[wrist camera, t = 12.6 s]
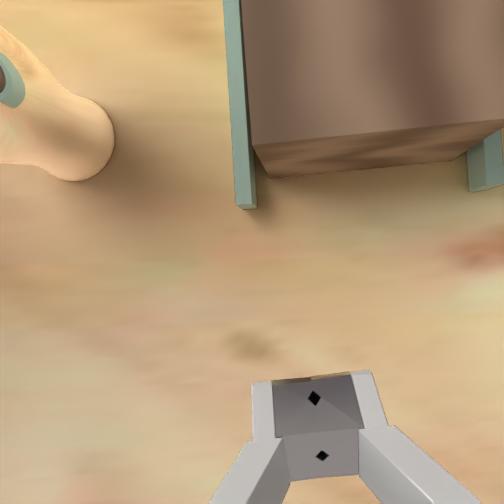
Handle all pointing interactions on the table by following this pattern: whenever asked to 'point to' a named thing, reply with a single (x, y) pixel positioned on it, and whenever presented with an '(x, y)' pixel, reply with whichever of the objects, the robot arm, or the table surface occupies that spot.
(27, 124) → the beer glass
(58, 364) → the table surface
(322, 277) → the table surface
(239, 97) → the green bay
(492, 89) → the walnut block
